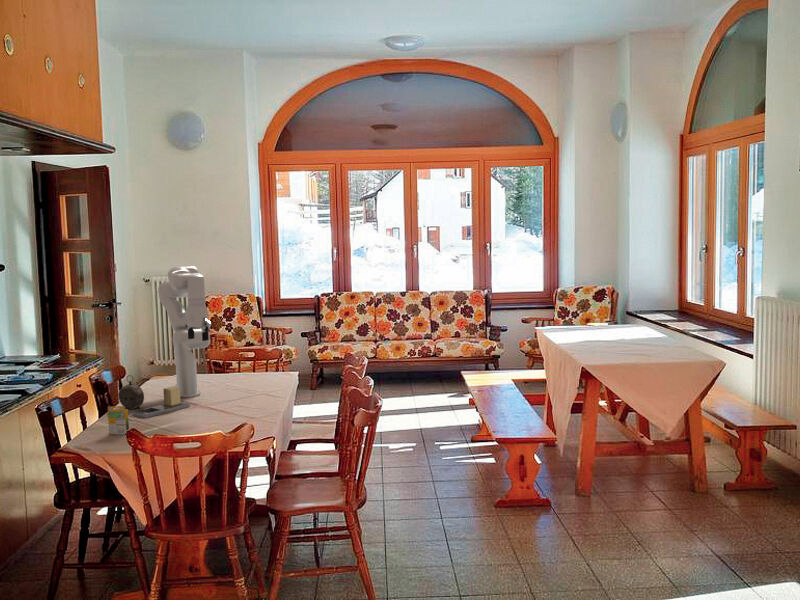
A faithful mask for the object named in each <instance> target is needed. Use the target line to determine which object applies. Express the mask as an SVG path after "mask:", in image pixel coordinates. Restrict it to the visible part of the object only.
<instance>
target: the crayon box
mask: <svg viewBox="0 0 800 600" xmlns="http://www.w3.org/2000/svg"><path fill="white" fill-rule="evenodd" d="M107 419H108V434H111V435H125V432H126V431H127V430H128V429H129V430H130V426H129V410H128V409H127V408H125V406H123V405H121V406H117V405H116V406H107Z"/></svg>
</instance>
